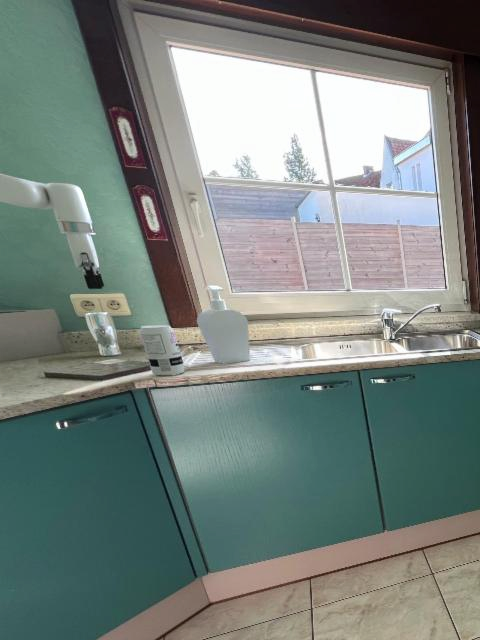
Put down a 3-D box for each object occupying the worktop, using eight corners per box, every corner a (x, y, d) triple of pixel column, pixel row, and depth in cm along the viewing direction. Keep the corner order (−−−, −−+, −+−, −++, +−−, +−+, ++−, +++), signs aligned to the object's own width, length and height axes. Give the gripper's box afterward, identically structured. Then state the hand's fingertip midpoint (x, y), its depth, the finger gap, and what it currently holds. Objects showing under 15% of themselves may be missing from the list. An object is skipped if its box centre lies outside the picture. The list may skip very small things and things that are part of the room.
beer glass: (99, 357, 176) (84, 314, 171) (97, 354, 181) (82, 312, 175) (125, 355, 181) (111, 313, 176) (122, 352, 185) (109, 311, 180)
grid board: (45, 376, 150) (43, 371, 149) (113, 363, 168) (111, 359, 168) (102, 380, 148) (101, 375, 147) (165, 366, 166) (164, 362, 166)
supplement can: (149, 373, 157) (133, 326, 151) (180, 369, 163) (167, 323, 157) (157, 377, 152) (142, 328, 147) (190, 373, 159) (176, 326, 153)
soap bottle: (242, 356, 185) (225, 284, 175) (257, 359, 180) (239, 286, 171) (205, 361, 175) (184, 285, 165) (219, 365, 170) (198, 287, 161)
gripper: (63, 228, 153) (82, 286, 159) (55, 227, 141) (77, 289, 147) (96, 230, 158) (114, 285, 164) (92, 229, 146) (111, 289, 152)
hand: (96, 287), depth 156 cm, fingers open, 9 cm apart
